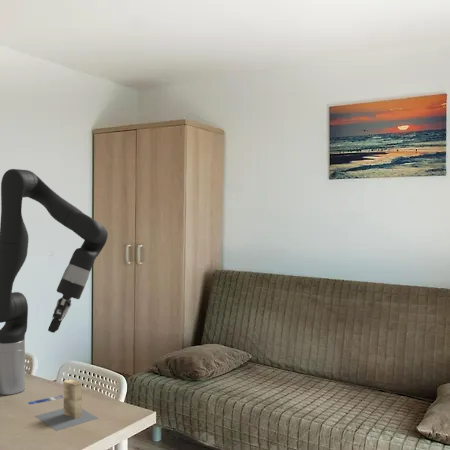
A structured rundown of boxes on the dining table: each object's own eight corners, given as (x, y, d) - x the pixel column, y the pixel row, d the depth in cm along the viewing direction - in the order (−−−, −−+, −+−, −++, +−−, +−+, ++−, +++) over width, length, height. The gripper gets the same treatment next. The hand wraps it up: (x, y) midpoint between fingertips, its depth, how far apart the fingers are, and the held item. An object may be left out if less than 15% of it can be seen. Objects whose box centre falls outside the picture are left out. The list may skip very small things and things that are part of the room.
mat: (35, 417, 155) (35, 415, 155) (75, 406, 163) (75, 404, 163) (56, 432, 144) (56, 430, 144) (98, 420, 153) (98, 418, 153)
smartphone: (80, 398, 169) (34, 409, 160) (80, 401, 169) (34, 413, 160) (70, 391, 175) (25, 402, 165) (70, 394, 175) (25, 405, 165)
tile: (63, 414, 156) (63, 381, 156) (70, 411, 158) (70, 379, 158) (75, 418, 153) (75, 385, 152) (82, 416, 155) (82, 382, 154)
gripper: (63, 277, 170) (43, 325, 166) (60, 276, 156) (37, 328, 153) (85, 286, 171) (65, 333, 167) (84, 285, 157) (62, 336, 154)
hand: (52, 330), depth 160 cm, fingers open, 8 cm apart
